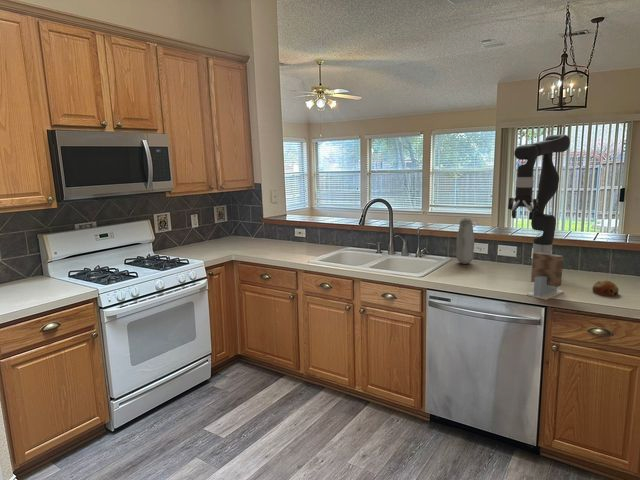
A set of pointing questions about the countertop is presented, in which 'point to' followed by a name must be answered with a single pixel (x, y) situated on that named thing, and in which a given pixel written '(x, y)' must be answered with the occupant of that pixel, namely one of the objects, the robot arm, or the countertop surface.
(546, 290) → the notched stand
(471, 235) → the grey bottle
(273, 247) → the countertop surface
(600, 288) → the bread roll
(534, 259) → the walnut board
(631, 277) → the countertop surface
